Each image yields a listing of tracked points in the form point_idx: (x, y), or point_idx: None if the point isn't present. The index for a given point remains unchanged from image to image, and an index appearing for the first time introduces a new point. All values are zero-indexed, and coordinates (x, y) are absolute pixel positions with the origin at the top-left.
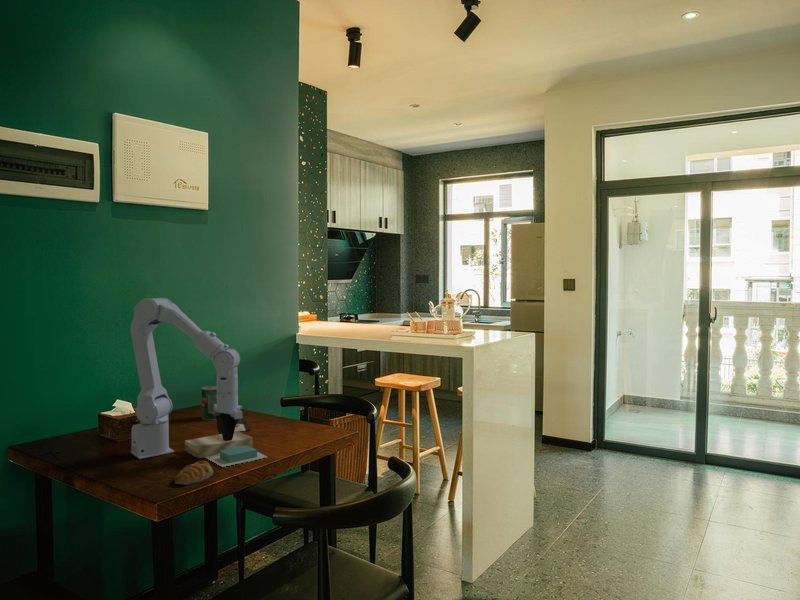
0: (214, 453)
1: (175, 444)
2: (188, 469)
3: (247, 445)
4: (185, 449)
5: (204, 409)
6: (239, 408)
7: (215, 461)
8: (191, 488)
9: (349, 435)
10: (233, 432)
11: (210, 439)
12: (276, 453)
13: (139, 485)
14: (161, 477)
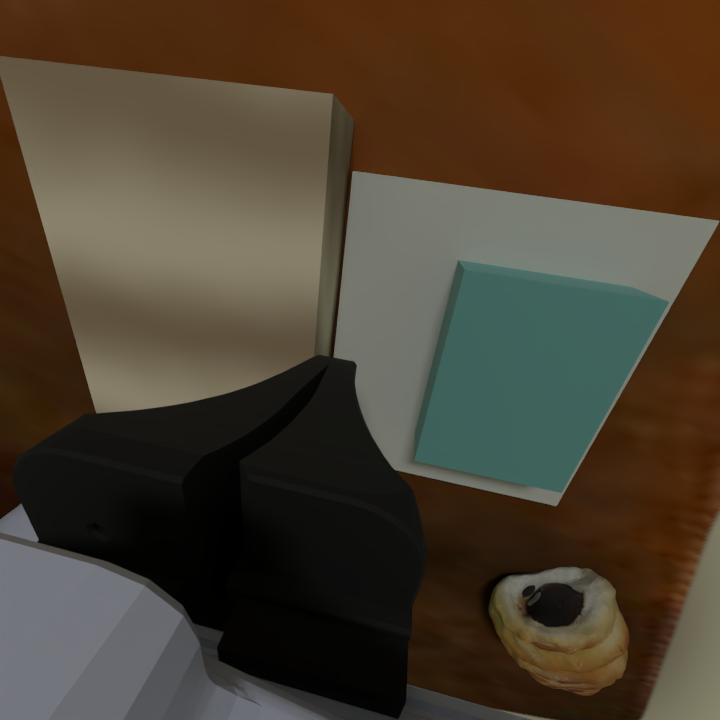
0: None
1: (21, 395)
2: (574, 687)
3: (473, 271)
4: None
5: None
6: (201, 705)
7: (448, 474)
8: (634, 659)
9: None
10: (355, 391)
11: (164, 381)
12: (703, 52)
13: (440, 676)
14: (426, 628)
